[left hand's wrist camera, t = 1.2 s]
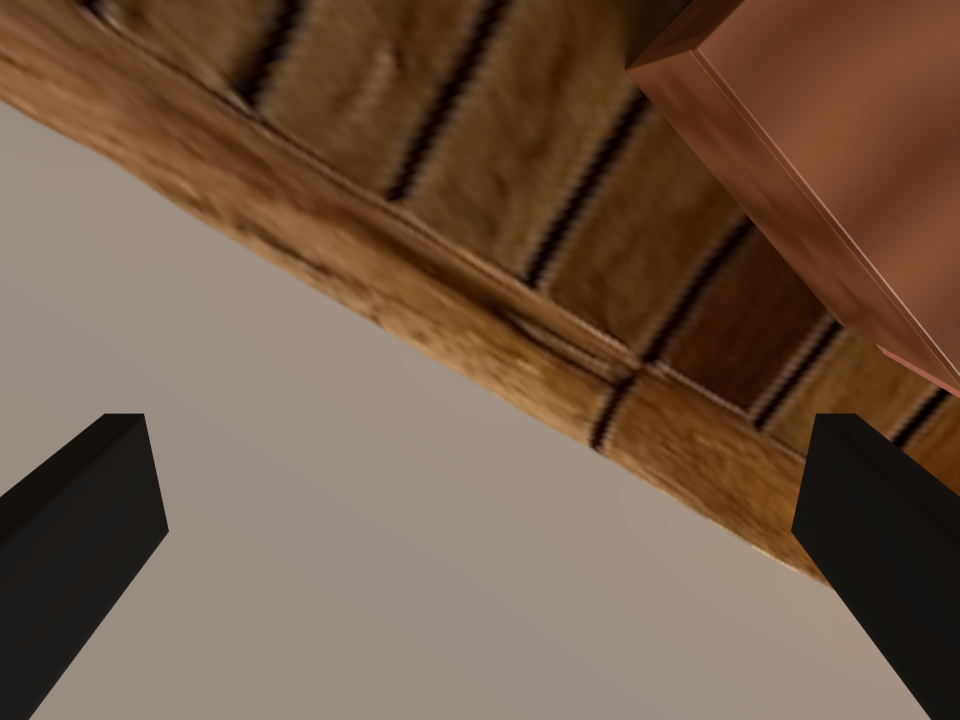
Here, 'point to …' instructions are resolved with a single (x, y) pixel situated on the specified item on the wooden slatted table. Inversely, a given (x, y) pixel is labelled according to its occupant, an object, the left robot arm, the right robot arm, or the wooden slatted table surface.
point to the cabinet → (834, 149)
